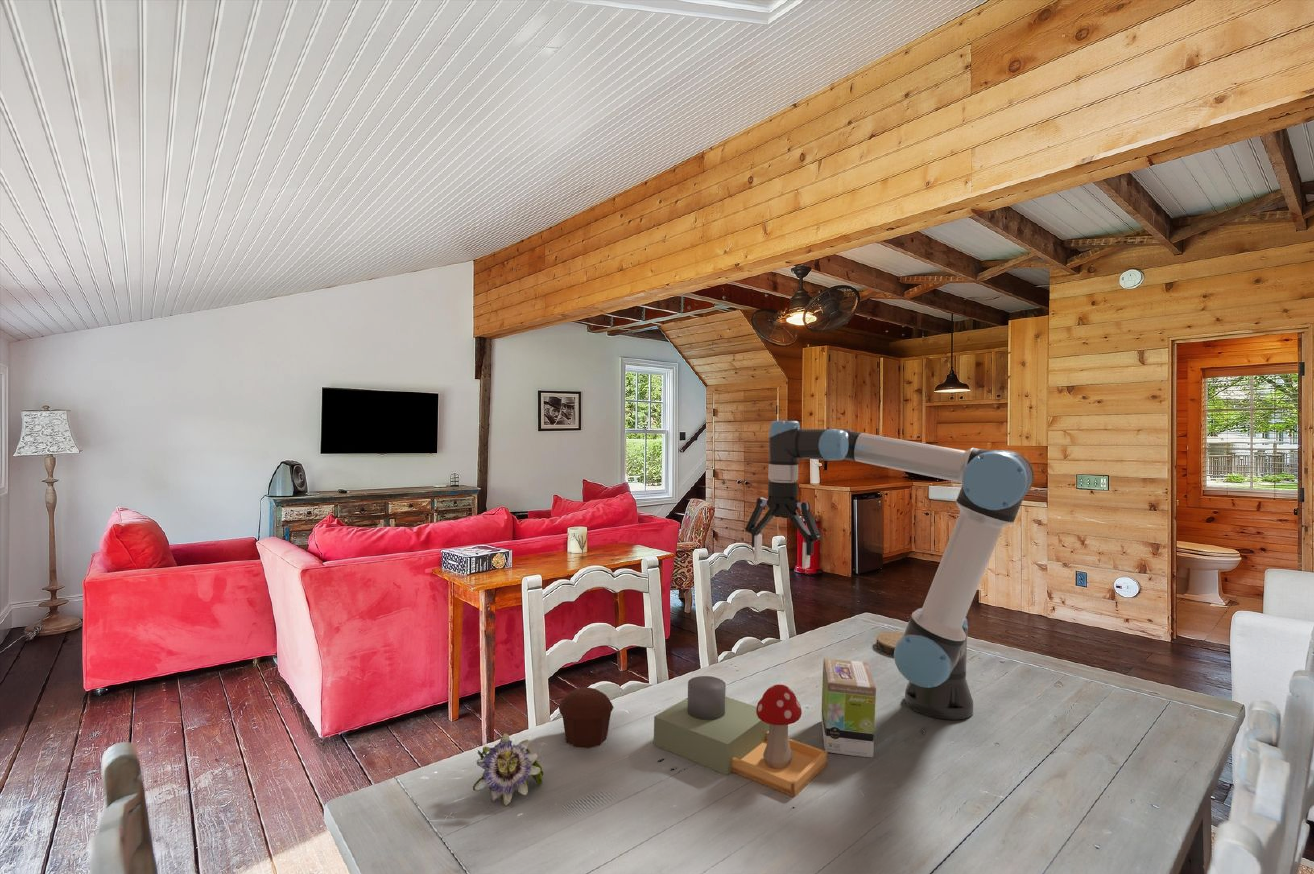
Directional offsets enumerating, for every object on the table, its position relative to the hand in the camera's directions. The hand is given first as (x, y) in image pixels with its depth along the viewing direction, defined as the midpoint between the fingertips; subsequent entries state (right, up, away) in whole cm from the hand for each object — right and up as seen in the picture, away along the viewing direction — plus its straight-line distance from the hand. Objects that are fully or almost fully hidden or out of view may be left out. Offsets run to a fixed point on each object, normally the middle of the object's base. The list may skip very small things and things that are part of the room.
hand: (781, 563), depth 164 cm
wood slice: (+43, -32, +30) cm, 62 cm away
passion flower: (-59, -32, -47) cm, 82 cm away
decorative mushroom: (-8, -32, -38) cm, 50 cm away
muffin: (-47, -32, -27) cm, 63 cm away
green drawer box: (-15, -32, -33) cm, 48 cm away
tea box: (+9, -33, -26) cm, 43 cm away
